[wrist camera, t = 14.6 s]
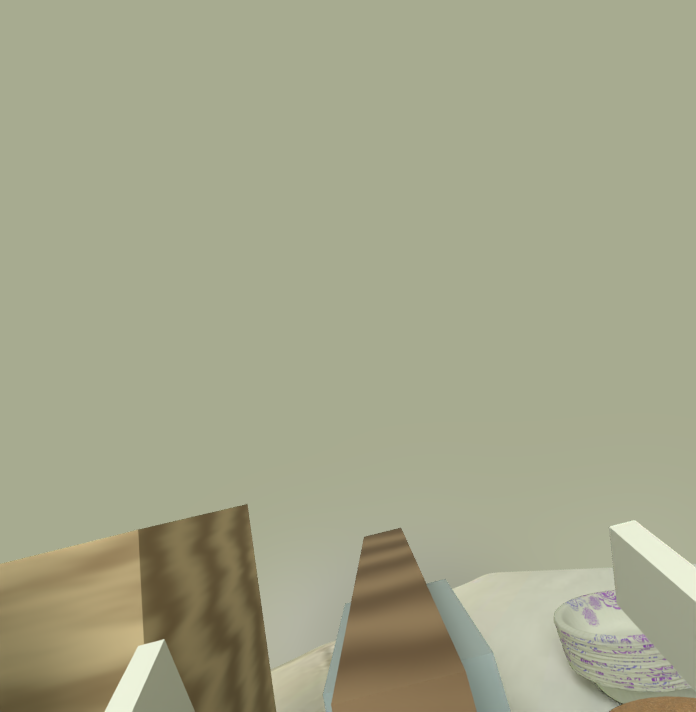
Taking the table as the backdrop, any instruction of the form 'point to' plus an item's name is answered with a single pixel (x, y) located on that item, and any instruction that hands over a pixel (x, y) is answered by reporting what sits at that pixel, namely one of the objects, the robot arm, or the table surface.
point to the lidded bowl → (659, 705)
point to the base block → (466, 643)
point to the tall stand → (137, 617)
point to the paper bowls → (615, 651)
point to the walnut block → (397, 639)
